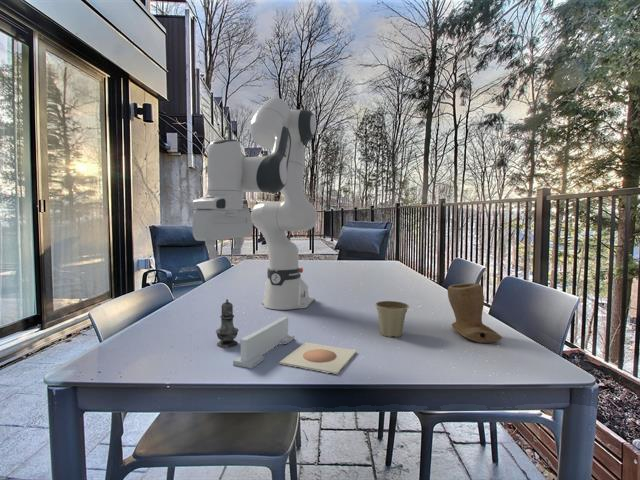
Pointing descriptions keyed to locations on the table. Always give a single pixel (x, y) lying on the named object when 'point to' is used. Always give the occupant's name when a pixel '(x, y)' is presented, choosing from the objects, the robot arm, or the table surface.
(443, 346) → the table surface
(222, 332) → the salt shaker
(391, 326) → the flower pot
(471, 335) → the brown boot
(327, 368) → the mat
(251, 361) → the acrylic wall
